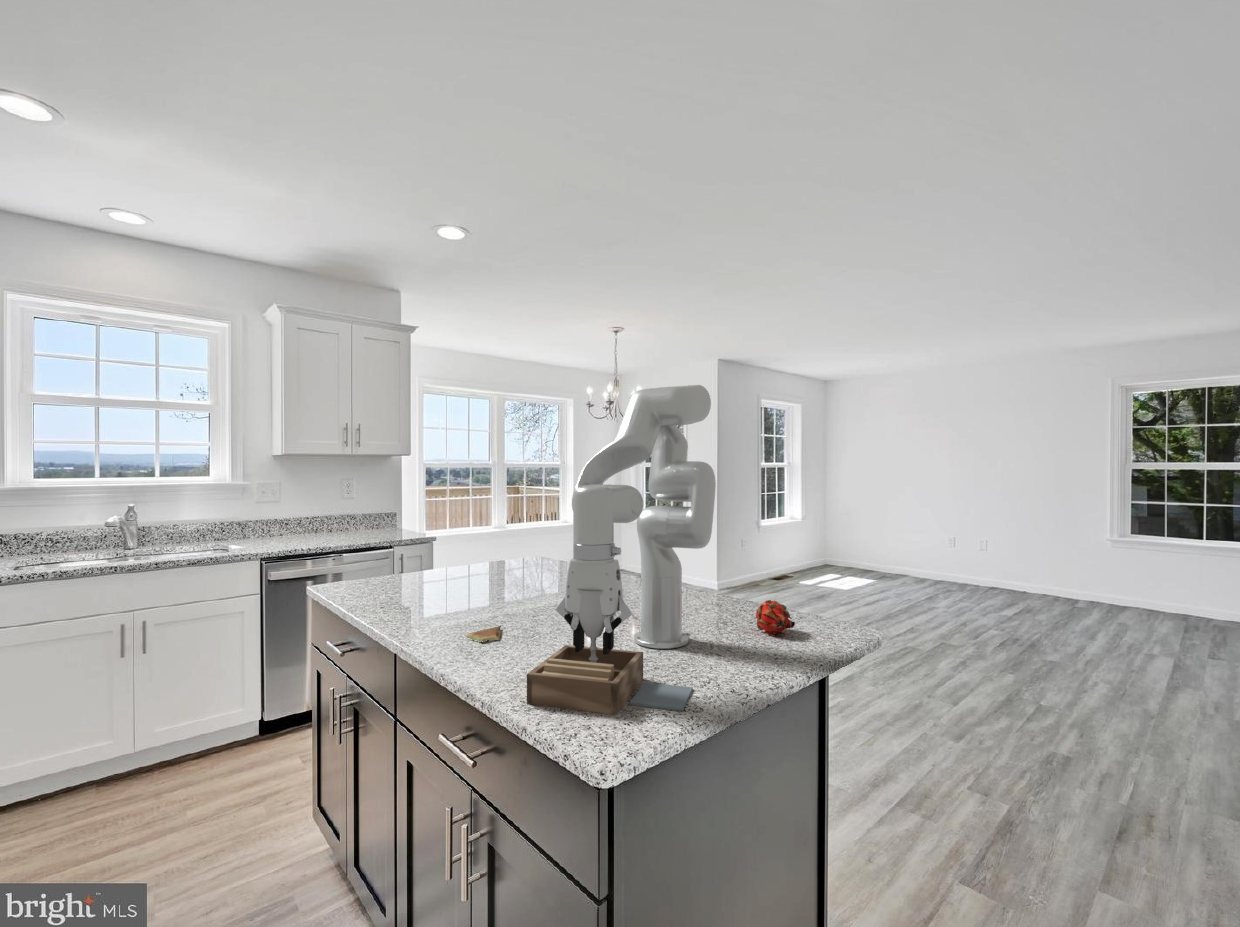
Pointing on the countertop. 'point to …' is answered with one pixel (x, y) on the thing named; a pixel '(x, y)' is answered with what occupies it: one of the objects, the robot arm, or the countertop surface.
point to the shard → (485, 634)
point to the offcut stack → (579, 669)
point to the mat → (662, 696)
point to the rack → (587, 682)
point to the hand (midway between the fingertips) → (593, 650)
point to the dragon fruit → (773, 618)
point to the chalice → (591, 618)
